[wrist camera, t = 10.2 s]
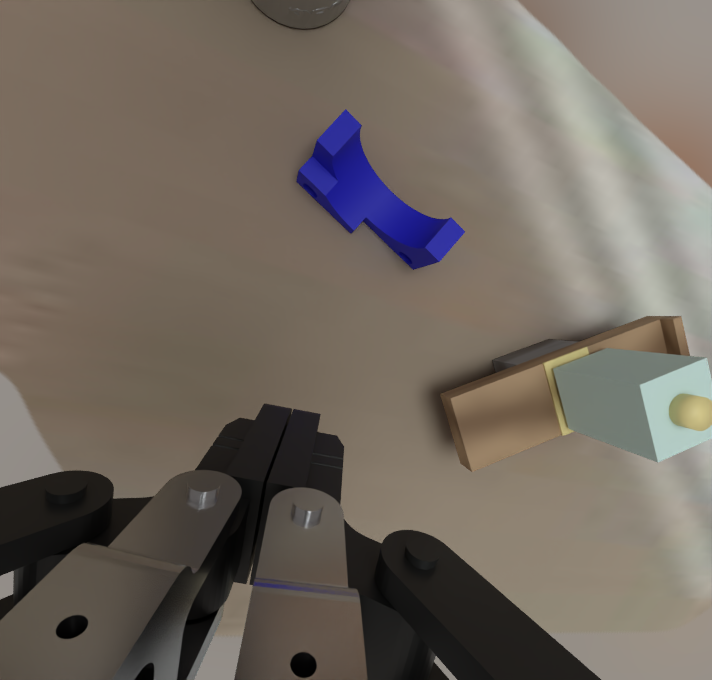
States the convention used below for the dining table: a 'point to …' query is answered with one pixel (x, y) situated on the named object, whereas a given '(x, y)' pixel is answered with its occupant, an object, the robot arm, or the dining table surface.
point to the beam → (538, 390)
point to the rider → (638, 400)
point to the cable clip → (371, 197)
